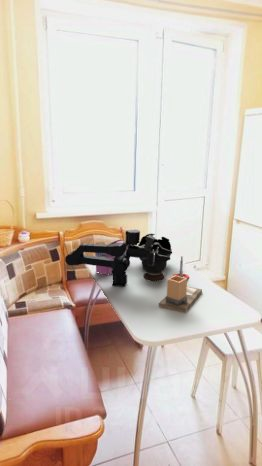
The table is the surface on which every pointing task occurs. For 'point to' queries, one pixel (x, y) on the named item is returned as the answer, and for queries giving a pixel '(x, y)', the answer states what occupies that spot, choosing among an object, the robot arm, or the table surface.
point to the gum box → (107, 269)
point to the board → (191, 297)
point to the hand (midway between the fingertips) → (171, 255)
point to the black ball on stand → (153, 270)
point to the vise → (176, 301)
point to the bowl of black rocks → (163, 242)
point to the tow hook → (181, 270)
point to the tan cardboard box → (176, 287)
